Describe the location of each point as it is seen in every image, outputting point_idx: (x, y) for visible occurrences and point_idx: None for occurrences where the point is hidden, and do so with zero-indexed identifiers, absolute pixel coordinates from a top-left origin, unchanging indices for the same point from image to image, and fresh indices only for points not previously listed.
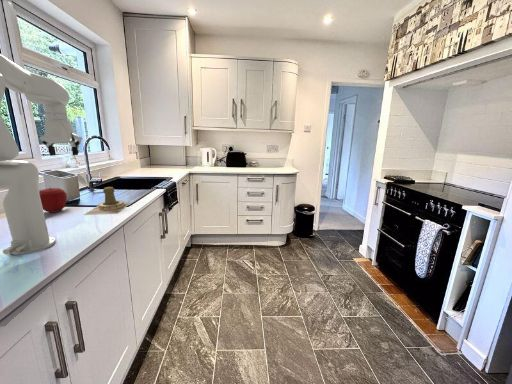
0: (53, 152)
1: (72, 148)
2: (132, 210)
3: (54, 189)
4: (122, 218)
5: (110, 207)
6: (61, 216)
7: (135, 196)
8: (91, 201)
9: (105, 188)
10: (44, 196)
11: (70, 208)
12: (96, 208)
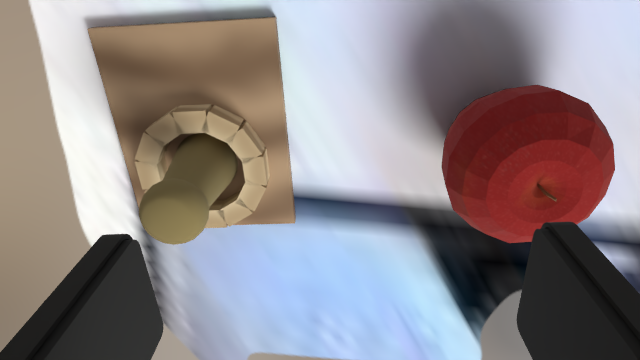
0: (547, 318)
1: (30, 339)
2: (70, 110)
3: (519, 193)
4: None
5: (171, 111)
6: (407, 38)
7: (207, 340)
8: (387, 282)
9: (174, 202)
10: (542, 103)
11: (435, 177)
12: (270, 136)
